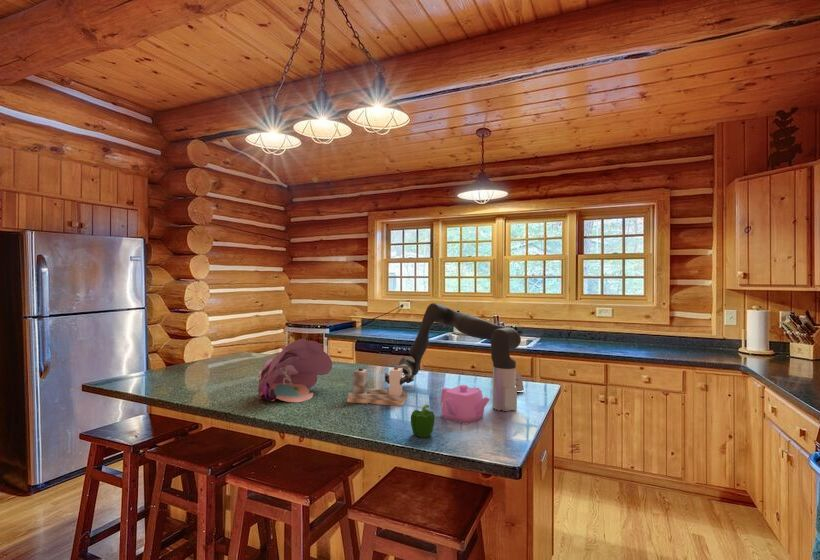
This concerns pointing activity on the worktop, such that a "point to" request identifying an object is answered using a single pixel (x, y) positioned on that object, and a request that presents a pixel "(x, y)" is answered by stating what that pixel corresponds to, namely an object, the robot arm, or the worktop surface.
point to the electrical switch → (519, 382)
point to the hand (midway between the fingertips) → (394, 382)
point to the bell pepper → (422, 422)
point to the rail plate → (372, 392)
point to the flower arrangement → (293, 372)
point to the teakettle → (463, 404)
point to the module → (395, 381)
